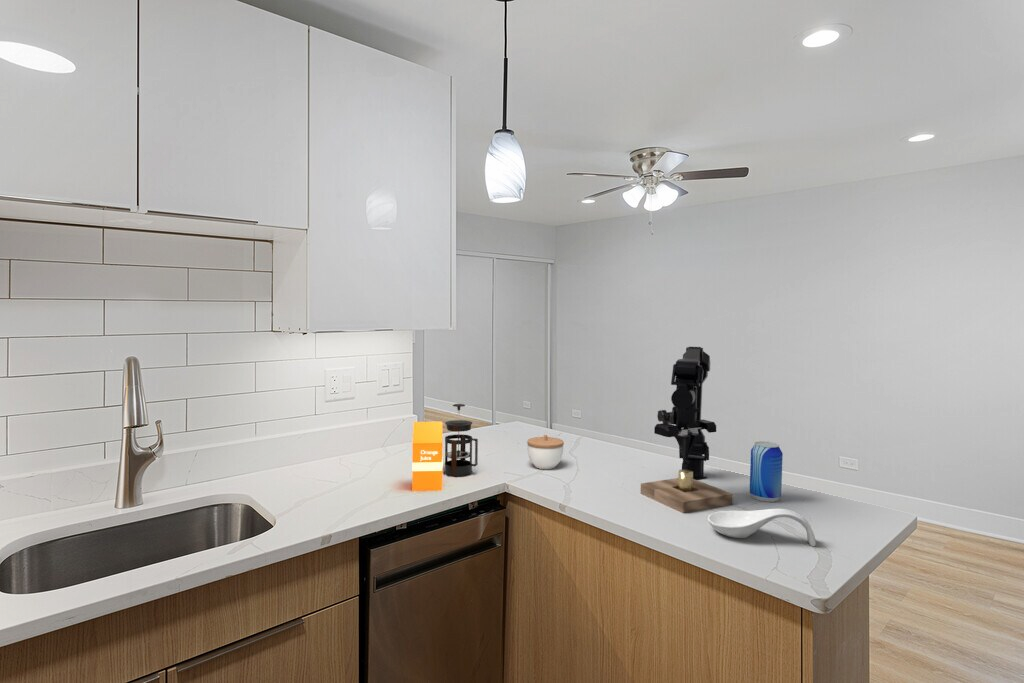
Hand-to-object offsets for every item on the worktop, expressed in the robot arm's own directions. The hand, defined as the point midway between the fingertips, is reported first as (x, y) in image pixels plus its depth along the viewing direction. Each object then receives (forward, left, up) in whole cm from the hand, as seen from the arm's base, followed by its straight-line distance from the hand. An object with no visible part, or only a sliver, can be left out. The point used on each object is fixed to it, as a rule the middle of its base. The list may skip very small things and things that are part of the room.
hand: (684, 457), depth 162 cm
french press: (+51, -49, -12) cm, 72 cm away
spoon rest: (+3, +29, -12) cm, 32 cm away
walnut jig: (0, +1, -12) cm, 12 cm away
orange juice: (+65, -39, -12) cm, 77 cm away
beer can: (-22, +10, -12) cm, 27 cm away
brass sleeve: (0, +1, -12) cm, 12 cm away
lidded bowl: (+21, -45, -12) cm, 51 cm away
